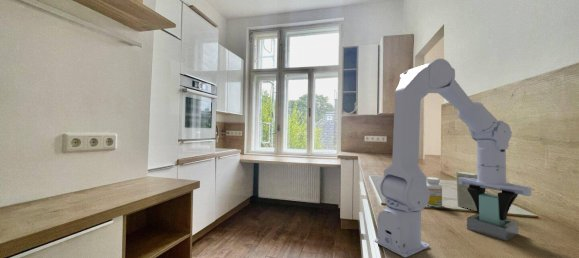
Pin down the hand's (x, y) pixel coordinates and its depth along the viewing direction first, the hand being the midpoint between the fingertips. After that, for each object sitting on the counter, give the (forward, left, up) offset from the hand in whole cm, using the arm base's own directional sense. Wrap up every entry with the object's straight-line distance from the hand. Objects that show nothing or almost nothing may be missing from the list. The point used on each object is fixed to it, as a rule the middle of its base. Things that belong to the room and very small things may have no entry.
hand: (491, 216), depth 59 cm
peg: (0, 0, -2) cm, 2 cm away
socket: (0, 0, -4) cm, 4 cm away
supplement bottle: (+9, +19, -4) cm, 22 cm away
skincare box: (+17, +11, -4) cm, 21 cm away
